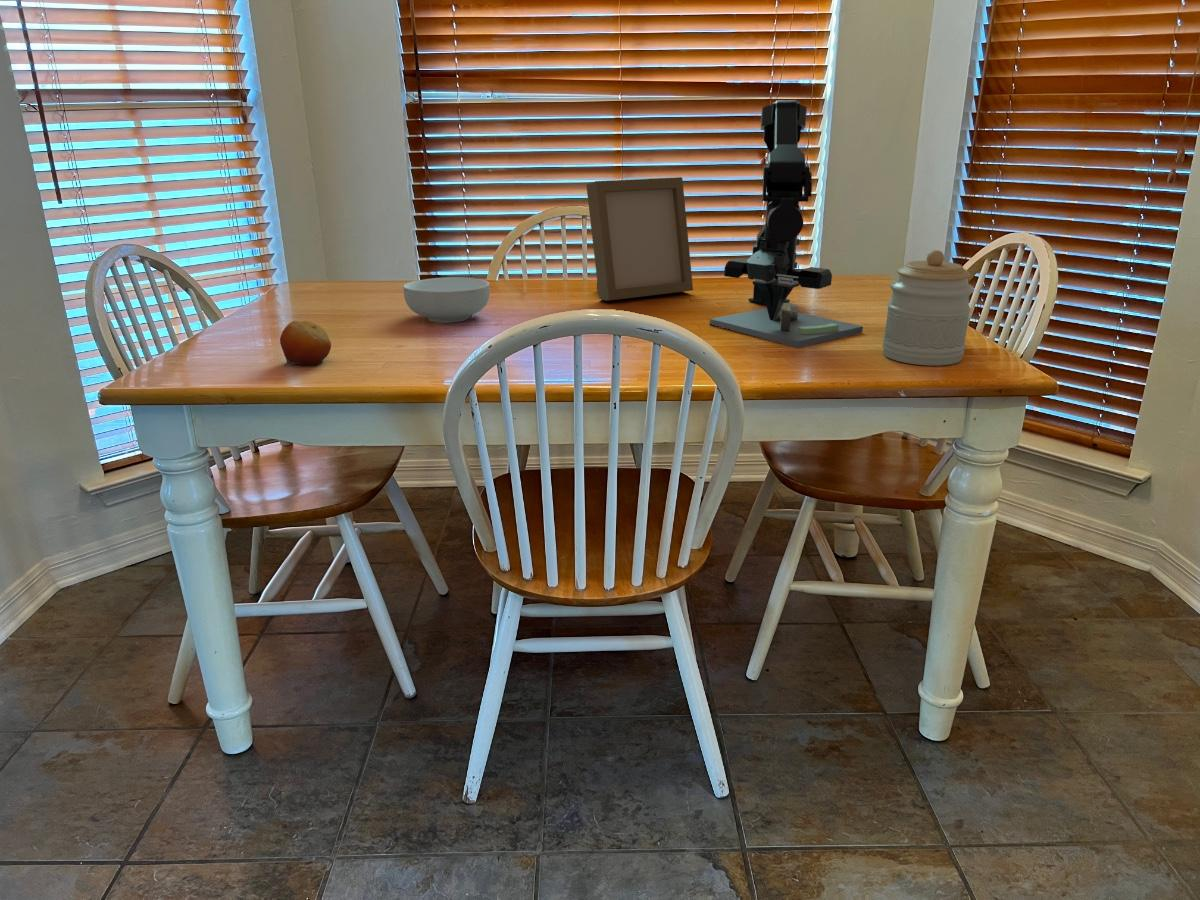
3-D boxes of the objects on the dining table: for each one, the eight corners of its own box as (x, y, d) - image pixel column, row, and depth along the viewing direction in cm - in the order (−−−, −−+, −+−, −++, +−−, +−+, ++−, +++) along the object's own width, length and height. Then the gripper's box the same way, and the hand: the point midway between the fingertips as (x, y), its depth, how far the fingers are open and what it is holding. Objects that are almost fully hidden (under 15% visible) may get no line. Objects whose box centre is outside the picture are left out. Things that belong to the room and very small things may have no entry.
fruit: (277, 349, 145) (297, 308, 143) (321, 371, 147) (341, 331, 145) (264, 361, 138) (284, 319, 136) (310, 385, 140) (331, 343, 138)
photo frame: (692, 294, 194) (697, 178, 185) (609, 304, 184) (609, 183, 175) (657, 284, 206) (659, 174, 197) (576, 293, 196) (575, 178, 187)
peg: (770, 314, 168) (772, 298, 167) (797, 315, 168) (798, 299, 166) (771, 329, 157) (772, 312, 156) (799, 330, 156) (800, 313, 155)
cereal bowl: (506, 314, 177) (505, 279, 174) (461, 331, 162) (459, 294, 160) (437, 306, 183) (435, 273, 181) (388, 323, 169) (385, 287, 167)
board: (773, 312, 177) (773, 301, 176) (862, 332, 161) (863, 320, 160) (709, 324, 167) (710, 313, 166) (798, 347, 150) (799, 335, 150)
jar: (980, 363, 141) (998, 254, 134) (911, 370, 138) (927, 258, 131) (930, 344, 153) (944, 242, 146) (866, 350, 149) (878, 246, 143)
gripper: (712, 232, 152) (706, 319, 157) (812, 243, 142) (801, 336, 147) (742, 227, 160) (735, 310, 166) (837, 237, 150) (827, 325, 156)
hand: (772, 320), depth 158 cm, fingers closed
